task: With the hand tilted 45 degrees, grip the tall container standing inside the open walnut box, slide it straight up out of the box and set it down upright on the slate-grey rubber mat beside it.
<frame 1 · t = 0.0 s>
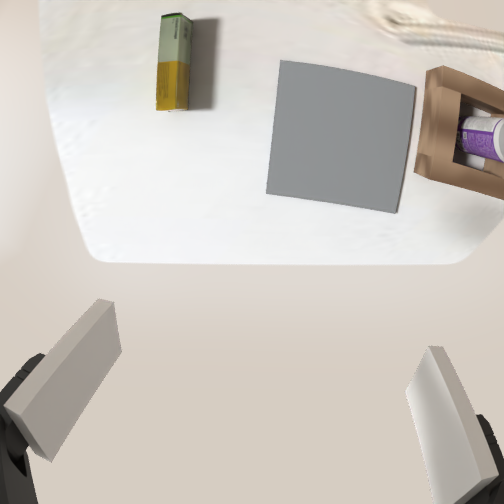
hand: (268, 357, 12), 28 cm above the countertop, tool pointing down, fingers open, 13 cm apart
container: (463, 134, 32), resting in walnut box
medication box: (180, 65, 33), on the countertop
walnut box: (464, 134, 32), on the countertop
grey mat: (342, 136, 34), on the countertop
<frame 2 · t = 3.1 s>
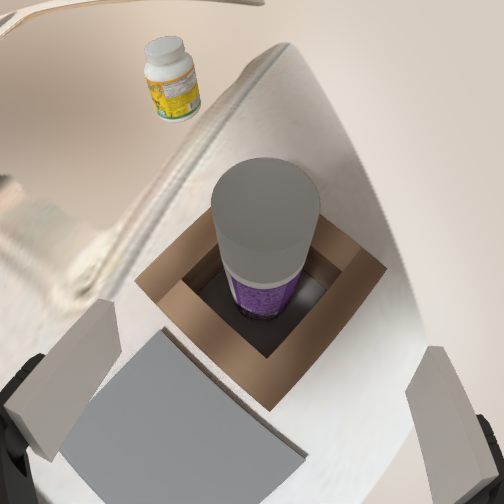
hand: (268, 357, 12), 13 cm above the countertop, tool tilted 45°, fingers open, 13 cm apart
container: (261, 294, 27), resting in walnut box
walnut box: (261, 294, 27), on the countertop
grey mat: (165, 460, 22), on the countertop
supplement bottle: (179, 110, 35), on the countertop
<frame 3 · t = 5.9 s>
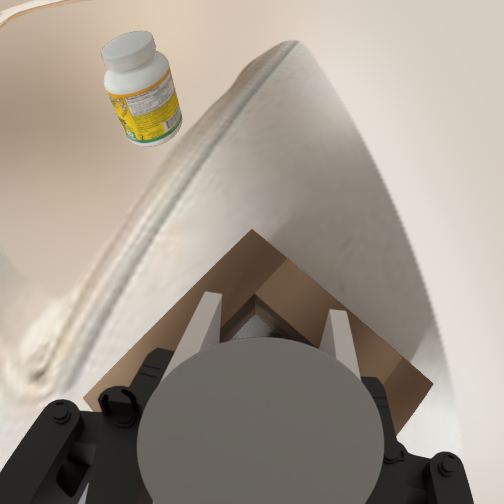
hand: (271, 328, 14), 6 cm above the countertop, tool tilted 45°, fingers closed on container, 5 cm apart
container: (258, 400, 19), resting in walnut box, touching gripper
walnut box: (258, 400, 18), on the countertop
supplement bottle: (155, 128, 27), on the countertop
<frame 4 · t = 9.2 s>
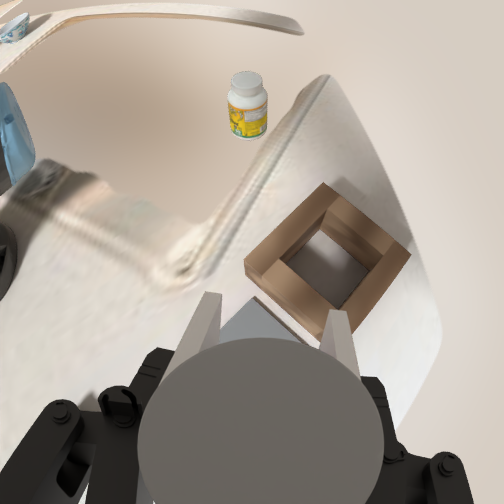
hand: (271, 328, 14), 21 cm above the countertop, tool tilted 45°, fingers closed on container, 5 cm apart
container: (258, 400, 19), point 15 cm above the countertop, touching gripper
walnut box: (324, 272, 37), on the countertop
grey mat: (254, 399, 32), on the countertop
supplement bottle: (248, 129, 46), on the countertop
chinaware: (18, 38, 72), on the countertop
when the fingers open (8 cm above the countertop, at t = 12.5 s): container drops 1 cm, resting on grey mat.
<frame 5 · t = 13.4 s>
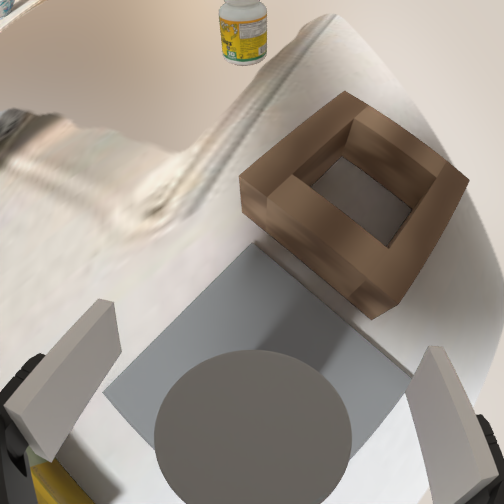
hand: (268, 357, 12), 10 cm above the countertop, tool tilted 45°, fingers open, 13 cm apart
container: (257, 399, 20), resting on grey mat
medication box: (49, 464, 18), on the countertop
walnut box: (353, 209, 26), on the countertop
grey mat: (258, 398, 20), on the countertop
supplement bottle: (244, 56, 34), on the countertop
chinaware: (3, 16, 60), on the countertop
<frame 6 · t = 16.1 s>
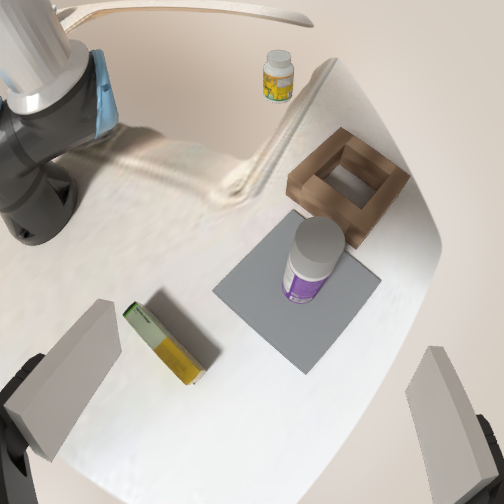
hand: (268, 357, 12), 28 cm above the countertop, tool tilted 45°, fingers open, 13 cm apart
container: (299, 287, 41), resting on grey mat
medication box: (168, 345, 39), on the countertop
walnut box: (345, 193, 47), on the countertop
grey mat: (299, 287, 42), on the countertop
supplement bottle: (277, 96, 56), on the countertop
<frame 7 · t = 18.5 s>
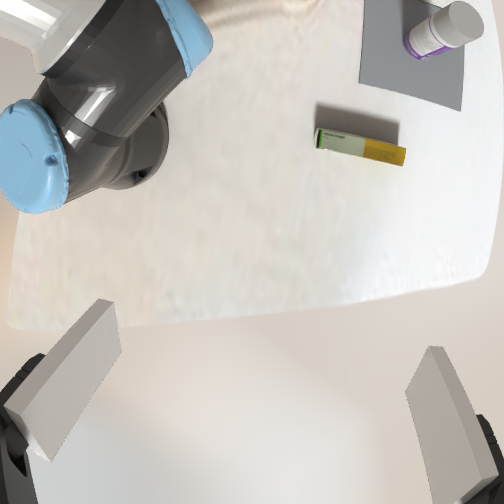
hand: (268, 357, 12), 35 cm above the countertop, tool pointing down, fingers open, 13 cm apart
container: (416, 46, 33), resting on grey mat
medication box: (356, 144, 41), on the countertop
grey mat: (416, 45, 33), on the countertop
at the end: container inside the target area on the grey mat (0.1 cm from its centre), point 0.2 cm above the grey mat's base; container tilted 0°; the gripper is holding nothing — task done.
